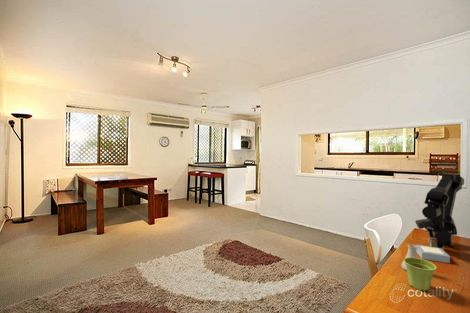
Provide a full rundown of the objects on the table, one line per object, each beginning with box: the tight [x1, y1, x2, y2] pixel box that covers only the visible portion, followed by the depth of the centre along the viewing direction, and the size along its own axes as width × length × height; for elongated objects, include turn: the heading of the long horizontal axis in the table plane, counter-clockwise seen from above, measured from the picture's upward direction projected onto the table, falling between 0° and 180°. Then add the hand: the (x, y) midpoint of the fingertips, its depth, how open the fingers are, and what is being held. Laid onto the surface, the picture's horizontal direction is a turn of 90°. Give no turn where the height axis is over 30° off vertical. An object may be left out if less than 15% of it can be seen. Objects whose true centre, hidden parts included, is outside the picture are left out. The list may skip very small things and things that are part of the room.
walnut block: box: [427, 236, 445, 251], centre depth 119 cm, size 5×5×5 cm
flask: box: [400, 244, 418, 272], centre depth 98 cm, size 7×7×10 cm
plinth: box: [415, 244, 451, 264], centre depth 111 cm, size 10×10×3 cm
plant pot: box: [403, 257, 437, 292], centre depth 86 cm, size 9×9×9 cm
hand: (435, 245), depth 119 cm, fingers open, 9 cm apart
